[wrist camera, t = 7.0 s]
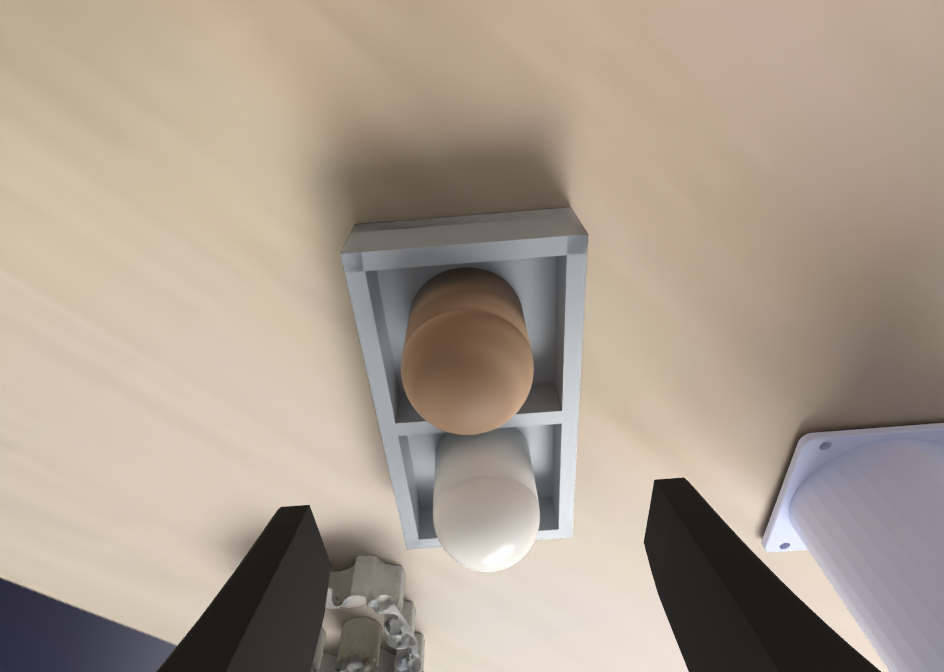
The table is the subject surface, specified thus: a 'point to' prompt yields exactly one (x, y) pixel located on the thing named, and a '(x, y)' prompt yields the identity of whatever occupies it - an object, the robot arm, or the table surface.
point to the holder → (548, 326)
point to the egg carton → (372, 621)
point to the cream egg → (485, 498)
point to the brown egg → (467, 352)
